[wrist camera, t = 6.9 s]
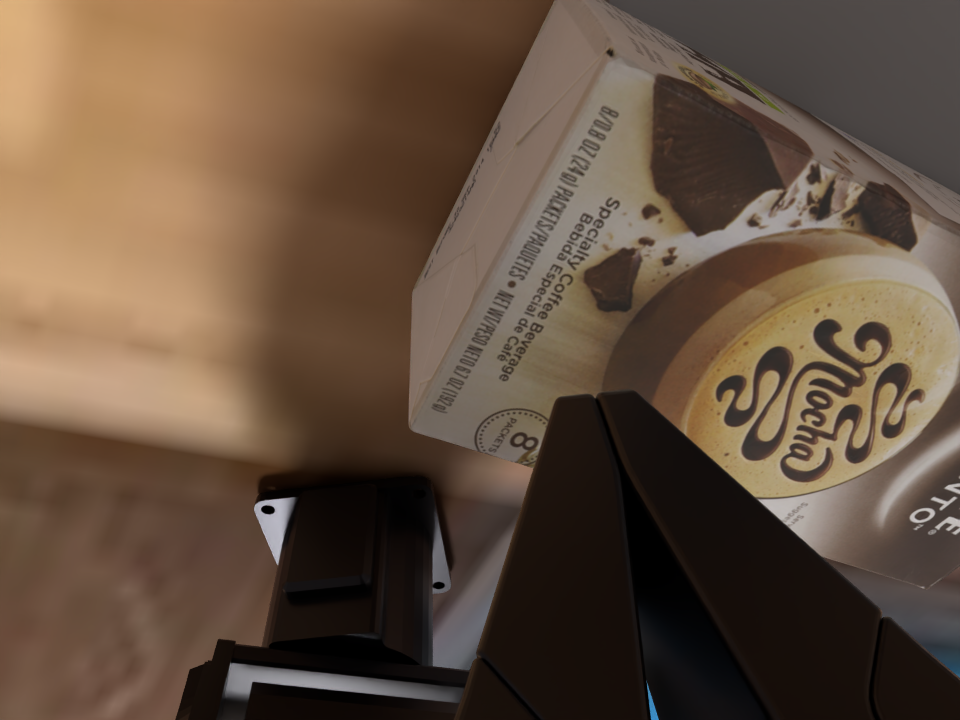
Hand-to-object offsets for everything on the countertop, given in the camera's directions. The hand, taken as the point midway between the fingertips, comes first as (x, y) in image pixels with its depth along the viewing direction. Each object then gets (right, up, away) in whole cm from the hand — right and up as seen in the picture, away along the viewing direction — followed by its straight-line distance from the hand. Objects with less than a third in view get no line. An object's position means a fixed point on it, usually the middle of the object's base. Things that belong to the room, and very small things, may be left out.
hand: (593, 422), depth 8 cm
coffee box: (-1, +4, +8) cm, 9 cm away
